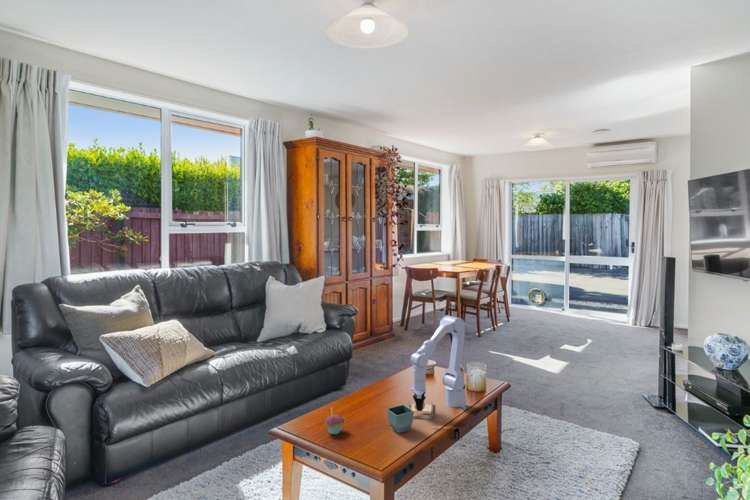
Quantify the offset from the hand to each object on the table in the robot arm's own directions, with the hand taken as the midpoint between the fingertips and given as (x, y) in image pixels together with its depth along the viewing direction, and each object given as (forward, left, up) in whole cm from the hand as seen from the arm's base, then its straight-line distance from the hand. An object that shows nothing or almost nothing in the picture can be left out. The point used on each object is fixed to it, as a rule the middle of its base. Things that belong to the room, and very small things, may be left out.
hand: (419, 408), depth 209 cm
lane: (0, -3, -4) cm, 5 cm away
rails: (0, -3, -4) cm, 5 cm away
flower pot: (+8, +15, -4) cm, 17 cm away
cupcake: (+36, +19, -4) cm, 41 cm away
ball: (0, 0, -1) cm, 1 cm away
